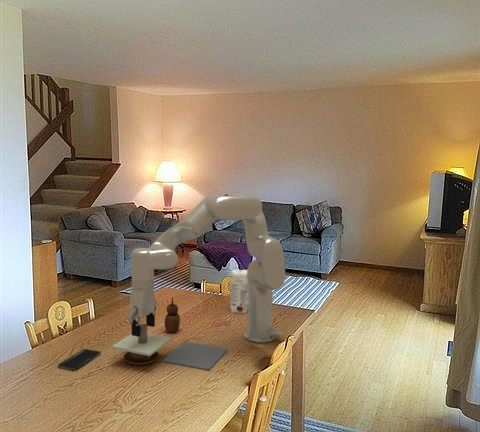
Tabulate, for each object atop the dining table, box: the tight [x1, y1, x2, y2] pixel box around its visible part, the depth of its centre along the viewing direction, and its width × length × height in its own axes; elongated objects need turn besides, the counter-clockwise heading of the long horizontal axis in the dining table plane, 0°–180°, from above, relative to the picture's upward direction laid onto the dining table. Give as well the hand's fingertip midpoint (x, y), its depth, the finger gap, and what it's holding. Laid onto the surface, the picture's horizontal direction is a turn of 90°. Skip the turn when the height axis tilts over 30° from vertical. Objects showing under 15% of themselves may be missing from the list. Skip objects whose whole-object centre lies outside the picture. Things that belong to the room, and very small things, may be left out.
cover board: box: [111, 323, 173, 356], centre depth 172 cm, size 15×15×7 cm
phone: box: [57, 348, 102, 372], centre depth 171 cm, size 8×1×15 cm
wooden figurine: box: [164, 296, 181, 333], centre depth 199 cm, size 7×6×15 cm
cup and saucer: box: [123, 351, 159, 366], centre depth 173 cm, size 12×12×6 cm
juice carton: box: [229, 269, 249, 314], centre depth 225 cm, size 8×9×19 cm
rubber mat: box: [161, 341, 229, 372], centre depth 177 cm, size 18×18×1 cm
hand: (143, 330), depth 172 cm, fingers open, 9 cm apart
